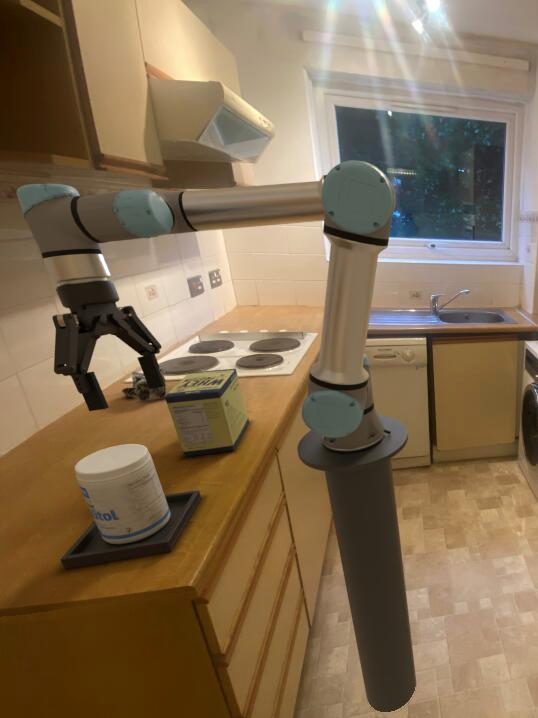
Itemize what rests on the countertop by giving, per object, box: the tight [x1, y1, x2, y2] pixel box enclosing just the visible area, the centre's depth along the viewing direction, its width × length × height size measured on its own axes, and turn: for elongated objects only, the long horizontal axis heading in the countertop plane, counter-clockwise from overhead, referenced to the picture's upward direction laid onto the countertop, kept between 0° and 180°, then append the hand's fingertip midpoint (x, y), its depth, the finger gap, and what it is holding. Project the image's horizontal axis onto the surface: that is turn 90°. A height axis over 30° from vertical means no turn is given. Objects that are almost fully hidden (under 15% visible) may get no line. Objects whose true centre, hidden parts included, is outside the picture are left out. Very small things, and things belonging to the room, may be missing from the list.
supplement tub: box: [74, 443, 170, 544], centre depth 75 cm, size 10×10×15 cm
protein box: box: [164, 368, 250, 458], centre depth 104 cm, size 10×16×16 cm
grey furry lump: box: [121, 368, 167, 401], centre depth 130 cm, size 12×11×15 cm
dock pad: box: [60, 489, 203, 570], centre depth 77 cm, size 15×15×2 cm
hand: (130, 397), depth 81 cm, fingers open, 13 cm apart
